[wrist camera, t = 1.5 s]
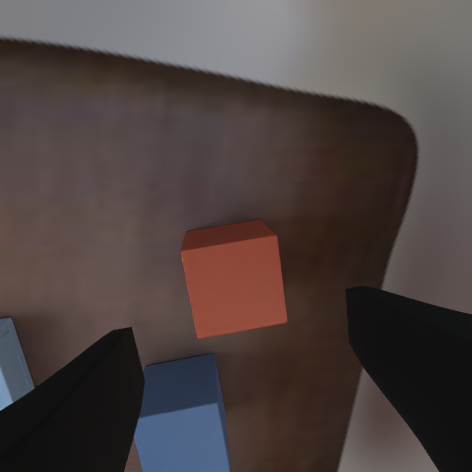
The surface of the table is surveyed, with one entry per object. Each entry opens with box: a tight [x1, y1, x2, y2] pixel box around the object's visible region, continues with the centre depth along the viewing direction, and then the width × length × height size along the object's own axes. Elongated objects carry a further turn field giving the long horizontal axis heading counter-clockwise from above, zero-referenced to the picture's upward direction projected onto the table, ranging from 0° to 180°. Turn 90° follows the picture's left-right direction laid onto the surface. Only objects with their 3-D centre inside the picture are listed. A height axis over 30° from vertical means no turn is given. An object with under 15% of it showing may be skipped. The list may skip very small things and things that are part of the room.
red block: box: [181, 220, 287, 339], centre depth 17 cm, size 4×4×4 cm
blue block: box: [134, 353, 230, 472], centre depth 18 cm, size 4×4×4 cm
